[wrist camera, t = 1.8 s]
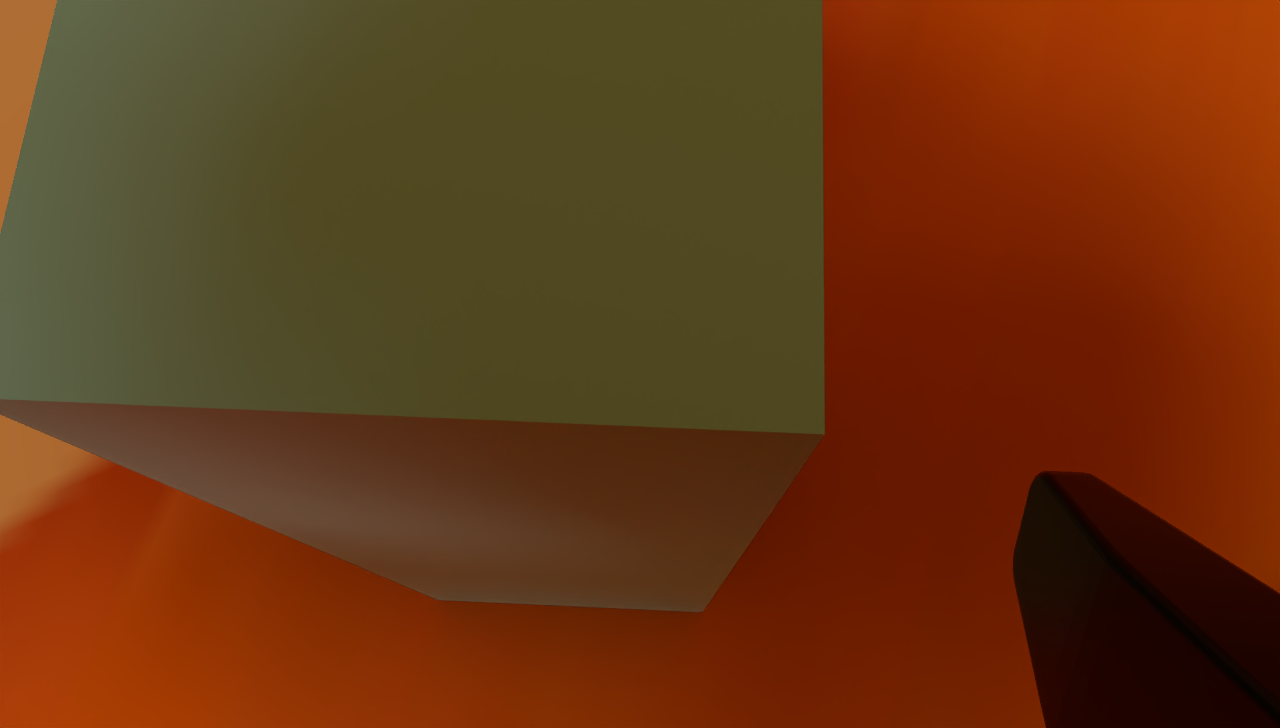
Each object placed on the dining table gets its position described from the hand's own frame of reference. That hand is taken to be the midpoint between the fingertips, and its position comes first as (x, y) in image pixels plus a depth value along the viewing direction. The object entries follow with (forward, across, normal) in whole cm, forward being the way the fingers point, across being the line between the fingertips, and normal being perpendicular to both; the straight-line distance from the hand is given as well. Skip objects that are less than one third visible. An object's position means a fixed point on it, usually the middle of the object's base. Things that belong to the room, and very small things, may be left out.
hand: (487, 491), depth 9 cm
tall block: (+8, 0, +6) cm, 10 cm away
